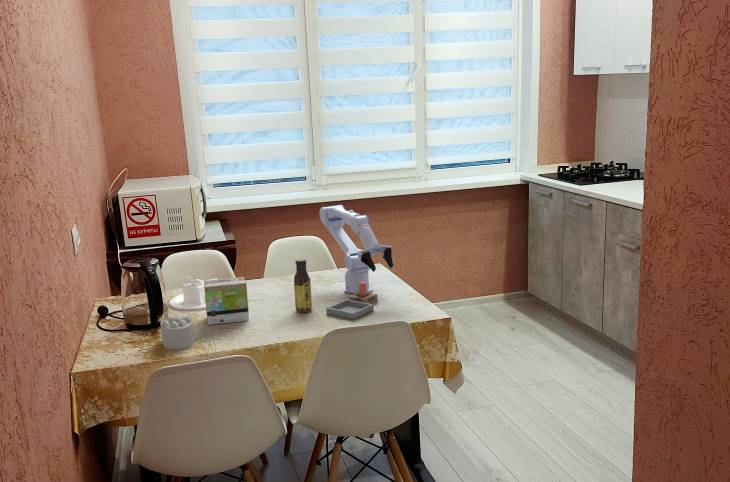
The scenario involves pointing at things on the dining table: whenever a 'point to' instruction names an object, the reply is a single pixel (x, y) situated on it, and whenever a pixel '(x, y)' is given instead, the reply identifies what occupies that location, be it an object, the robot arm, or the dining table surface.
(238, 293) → the tea box
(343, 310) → the tray
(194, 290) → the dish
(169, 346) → the white bowl of pebbles
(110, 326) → the dining table surface
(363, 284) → the pin
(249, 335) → the dining table surface
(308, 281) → the sauce bottle
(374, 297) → the pin block
